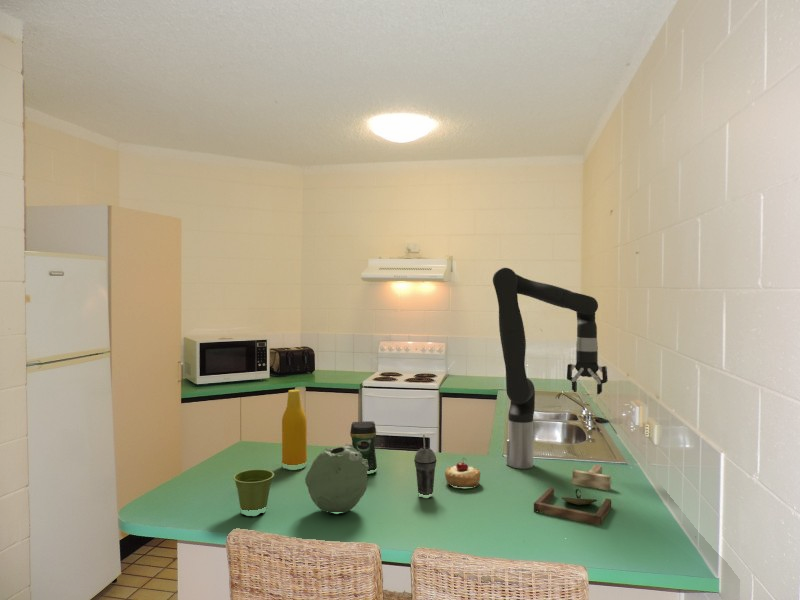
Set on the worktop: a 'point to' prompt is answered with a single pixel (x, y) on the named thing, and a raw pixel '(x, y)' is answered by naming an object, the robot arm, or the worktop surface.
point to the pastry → (462, 475)
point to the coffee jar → (365, 441)
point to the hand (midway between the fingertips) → (586, 392)
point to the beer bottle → (294, 431)
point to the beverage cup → (425, 469)
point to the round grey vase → (337, 478)
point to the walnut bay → (571, 510)
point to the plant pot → (253, 488)
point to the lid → (578, 500)
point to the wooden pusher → (592, 478)
